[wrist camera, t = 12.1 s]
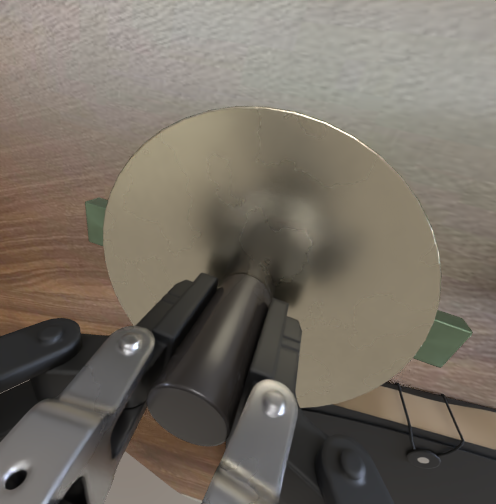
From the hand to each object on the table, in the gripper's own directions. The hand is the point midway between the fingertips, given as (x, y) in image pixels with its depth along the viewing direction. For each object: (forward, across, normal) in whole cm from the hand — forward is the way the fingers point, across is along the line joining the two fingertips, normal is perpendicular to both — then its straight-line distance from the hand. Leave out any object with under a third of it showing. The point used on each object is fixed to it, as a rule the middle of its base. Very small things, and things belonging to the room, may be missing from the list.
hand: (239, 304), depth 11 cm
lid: (+1, 0, 0) cm, 1 cm away
